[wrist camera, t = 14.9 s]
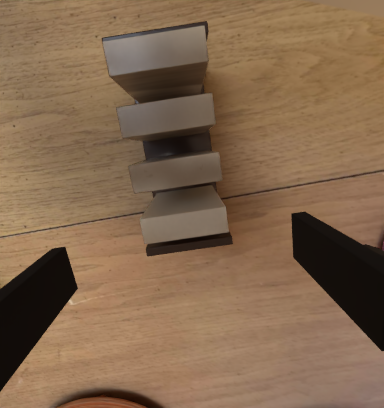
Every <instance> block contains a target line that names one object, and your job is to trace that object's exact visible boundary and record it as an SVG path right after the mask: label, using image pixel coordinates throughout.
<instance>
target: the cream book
mask: <svg viewBox="0 0 384 408" xmlns="http://www.w3.org/2000/svg"><path fill="white" fill-rule="evenodd" d="M140 224H141V229H142V234H143V239H144V244H151V243H158V242H165V241H172V240H179V239H186V238H192V237H199V236H206V235H213V234H220V233H227V232H229V229H228V221H227V212H226V207H225V205H224V203H223V202H222V200H221V199H220V197H219V196H218V194H217V192H216V191H215V189H214V188H213V186H212V185H209V186H202V187H196V188H189V189H182V190H175V191H169V192H162V193H157V194H156V195H155V197H154V198H153V200H152V201H151V203H150V204H149V206H148V207H147V209H146V211H145V212H144V214H143V215H142V217H141V218H140Z"/></svg>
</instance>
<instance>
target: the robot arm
mask: <svg viewBox="0 0 384 408" xmlns="http://www.w3.org/2000/svg"><path fill="white" fill-rule="evenodd" d="M292 237H293V257H294V259H295V260H296V261H297V262H298V263H299V264H300V265H301V266H302V267H303V268H304V269H305V270H306V271H307V272H308V273H309V274H310V275H311V277H312V278H313V279H314V280H315V281H316V282H317V283H318V284H319V285H320V286H321V287H322V288H323V289H324V290H325V291H326V292H327V293H328V295H329V296H330V297H331V298H332V299H333V300H334V301H335V302H336V303H337V304H338V305H339V306H340V307H341V308H342V309H343V310H344V312H345V313H346V314H347V315H348V316H349V317H350V318H351V319H352V320H353V321H354V322H355V323H356V324H357V325H358V326H359V327H360V328H361V330H362V331H363V332H364V333H365V334H366V335H367V336H368V337H369V338H370V339H371V340H372V341H373V342H374V343H375V344H376V345H377V347H378V348H379V349H380V350H381V351H384V251H383V250H381V249H379V248H376V247H373V246H370V245H366V244H365V245H362V244H360V243H359V242H357V241H355V240H353V239H352V238H350V237H348V236H346V235H345V234H343V233H341V232H340V231H338V230H336V229H334V228H333V227H331V226H329V225H327V224H326V223H324V222H322V221H320V220H319V219H317V218H315V217H313V216H312V215H310V214H308V213H306V212H299V213H292ZM77 289H78V288H77V284H76V281H75V278H74V274H73V271H72V268H71V264H70V261H69V258H68V254H67V251H66V248H65V247H60V248H54V249H51V250H50V251H49V252H47V253H46V254H45V255H43V256H42V257H41V258H40V259H38V260H37V261H36V262H35V263H33V264H32V265H31V266H29V267H28V268H27V269H26V270H24V271H23V272H22V273H20V274H19V275H18V276H17V277H15V278H14V279H13V280H11V281H10V282H9V283H8V284H6V285H5V286H4V287H3V288H1V289H0V391H1V390H2V389H3V387H4V386H5V385H6V383H7V382H8V381H9V379H10V378H11V377H12V375H13V374H14V373H15V371H16V370H17V369H18V367H19V366H20V365H21V363H22V362H23V361H24V359H25V358H26V357H27V355H28V354H29V353H30V351H31V350H32V349H33V347H34V346H35V345H36V343H37V342H38V341H39V339H40V338H41V337H42V335H43V334H44V333H45V331H46V330H47V329H48V327H49V326H50V325H51V323H52V322H53V321H54V319H55V318H56V317H57V315H58V314H59V313H60V311H61V310H62V309H63V307H64V306H65V305H66V303H67V302H68V301H69V299H70V298H71V297H72V295H73V294H74V293H75V291H76V290H77Z"/></svg>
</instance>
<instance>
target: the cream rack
mask: <svg viewBox="0 0 384 408" xmlns="http://www.w3.org/2000/svg"><path fill="white" fill-rule="evenodd" d="M208 32H209V31H208V23H207V21H204V22H198V23H192V24H186V25H179V26H173V27H167V28H161V29H154V30H148V31H142V32H136V33H129V34H123V35H117V36H111V37H104V38H102V43H103V48H104V53H105V58H106V62H107V67H108V72H109V76H110V77H111V78H112V79H113V80H114V81H115V82H116V83H117V84H118V85H120V86H121V87H122V88H123V89H124V90H125V91H126V92H127V93H128V94H130V95H131V96H132V97H133V98H134V99H135V104H134V105H128V106H121V107H117V108H116V110H117V115H118V120H119V124H120V129H121V134H122V138H123V139H131V140H139V141H143V146H144V151H145V156H146V160H145V161H142V162H138V163H135V164H132V165H129V166H128V167H129V172H130V177H131V182H132V187H133V191H134V193H135V194H136V193H142V192H149V191H152V193H153V198H154V197H155V195H156V194H157V193H162V192H169V191H175V190H182V189H189V188H196V187H202V186H209V185H212V186H213V188H214V189H215V191H216V192H217V189H216V181H222V180H223V179H222V171H221V162H220V153H219V152H215V151H212V149H211V141H210V133H209V129H210V128H211V127H213V126H214V125H215V124H216V119H215V111H214V102H213V94H212V93H204V85H203V81H204V77H205V73H206V69H207V65H208V61H209V59H208V51H207V37H208ZM230 244H233V242H232V236H231V234H230V232H227V233H220V234H213V235H206V236H199V237H192V238H186V239H179V240H172V241H165V242H158V243H151V244H148V245H147V247H146V253H147V256H153V255H160V254H167V253H174V252H181V251H188V250H195V249H202V248H209V247H216V246H223V245H230Z"/></svg>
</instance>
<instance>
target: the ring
mask: <svg viewBox="0 0 384 408" xmlns="http://www.w3.org/2000/svg"><path fill="white" fill-rule="evenodd" d="M57 408H147V407H145V406H143V405H140V404H138V403H135V402H132V401H128V400H124V399H120V398H112V397H107V396H105V395H100V396H98V397H92V398H84V399H78V400H75V401H71V402H68V403H65V404H63V405H61V406H59V407H57Z"/></svg>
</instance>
